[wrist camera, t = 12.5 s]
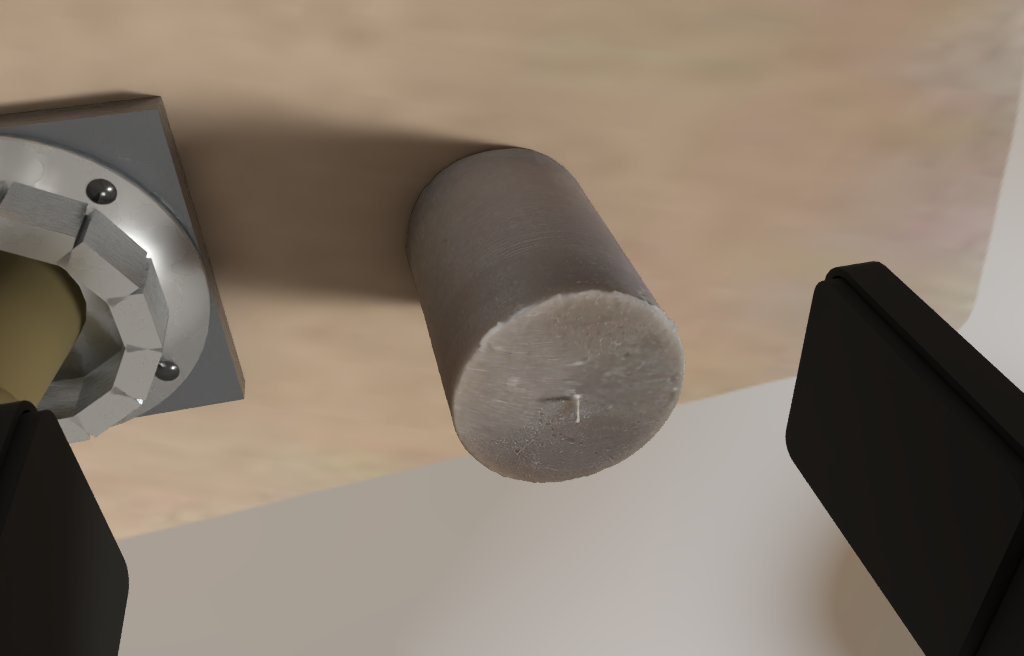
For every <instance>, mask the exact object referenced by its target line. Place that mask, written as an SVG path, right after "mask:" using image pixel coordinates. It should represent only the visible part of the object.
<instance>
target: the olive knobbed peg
mask: <svg viewBox="0 0 1024 656" xmlns="http://www.w3.org/2000/svg"><path fill="white" fill-rule="evenodd" d="M85 322H86V301H85V298H84V296H83V293H82V291H81V288H80V286H79V285H78V284H77V283H76V281H75V280H74V279H73V278H72V277H71V276H70V274H69V273H68V272H67V271H66V270H65V269H63V268H62V267H60V266H58V265H54V264H50V263H47V262H43V261H39V260H36V259H32V258H28V257H24V256H21V255H17V254H13V253H10V252H6V251H2V250H0V404H4V403H10V402H16V401H23V400H26V401H30V402H31V403H32V404H33V405H34V406H35V407H37V406H38V404H39V402H40V401H41V399H42V397H43V396H44V394H45V392H46V391H47V389H48V387H49V385H50V384H51V382H52V380H53V379H54V377H55V375H56V374H57V372H58V370H59V369H60V367H61V365H62V363H63V362H64V360H65V358H66V357H67V355H68V353H69V352H70V350H71V348H72V347H73V345H74V343H75V342H76V340H77V338H78V336H79V335H80V332H81V330H82V328H83V326H84V324H85Z"/></svg>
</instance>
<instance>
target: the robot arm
mask: <svg viewBox="0 0 1024 656" xmlns="http://www.w3.org/2000/svg"><path fill="white" fill-rule="evenodd" d="M785 437H786V445H787V449H788V452H789V454H790V457H791V459H792V460H793V462H794V464H795V465H796V466H797V468H798V469H799V471H800V472H801V474H802V475H803V477H804V478H805V480H806V481H807V483H808V484H809V485H810V487H811V488H812V490H813V491H814V493H815V494H816V496H817V497H818V499H819V500H820V501H821V503H822V504H823V506H824V507H825V509H826V510H827V511H828V513H829V515H830V516H831V518H832V519H833V521H834V522H835V523H836V525H837V526H838V528H839V529H840V531H841V532H842V534H843V535H844V537H845V538H846V540H847V541H848V543H849V544H850V545H851V547H852V548H853V550H854V551H855V553H856V554H857V556H858V557H859V558H860V560H861V562H862V563H863V564H864V566H865V567H866V569H867V570H868V572H869V573H870V574H871V576H872V578H873V579H874V580H875V582H876V583H877V585H878V586H879V587H880V589H881V591H882V592H883V594H884V595H885V597H886V598H887V599H888V601H889V602H890V604H891V605H892V607H893V608H894V610H895V611H896V613H897V614H898V616H899V617H900V619H901V620H902V622H903V623H904V624H905V626H906V627H907V629H908V630H909V632H910V633H911V635H912V636H913V638H914V639H915V640H916V642H917V643H918V645H919V646H920V648H921V649H922V651H923V652H924V654H925V655H926V656H1024V393H1023V392H1022V391H1021V390H1020V389H1019V388H1017V387H1016V386H1015V385H1014V384H1013V383H1012V382H1011V381H1010V380H1009V379H1008V378H1007V377H1005V376H1004V375H1003V374H1002V373H1001V372H1000V371H999V370H998V369H997V368H996V367H994V366H993V365H992V364H991V363H990V362H989V361H988V360H987V359H986V358H985V357H983V355H982V354H980V353H979V352H978V351H977V350H976V349H975V348H974V347H973V346H972V345H971V344H970V343H968V342H967V341H966V340H965V339H964V338H963V337H962V336H961V335H960V334H958V332H957V331H955V330H954V329H953V328H952V327H951V326H950V325H949V324H948V323H947V322H946V321H945V320H943V319H942V318H941V317H940V316H939V315H938V314H937V313H936V312H935V311H934V310H933V309H932V308H930V307H929V306H928V305H927V304H926V303H925V302H924V301H923V300H922V299H921V298H920V297H918V296H917V295H916V294H915V293H914V292H913V291H912V290H911V289H910V288H909V287H908V286H906V285H905V284H904V283H903V282H902V281H901V280H900V279H899V278H898V277H897V276H896V275H895V274H893V273H892V272H891V271H890V270H889V269H888V268H887V267H886V266H885V265H883V264H881V263H880V262H875V261H872V262H866V263H860V264H853V265H847V266H841V267H835V268H833V269H831V270H830V271H829V272H828V274H827V275H826V278H825V281H821V282H819V283H818V284H817V285H816V287H815V290H814V294H813V299H812V304H811V309H810V314H809V319H808V324H807V329H806V334H805V339H804V344H803V349H802V354H801V359H800V364H799V369H798V374H797V379H796V384H795V389H794V394H793V399H792V404H791V409H790V414H789V418H788V423H787V429H786V436H785ZM128 590H129V577H128V570H127V566H126V563H125V560H124V558H123V556H122V553H121V551H120V549H119V547H118V545H117V543H116V541H115V539H114V537H113V535H112V533H111V530H110V528H109V526H108V524H107V522H106V520H105V518H104V516H103V514H102V512H101V510H100V507H99V505H98V503H97V501H96V499H95V497H94V495H93V493H92V491H91V489H90V487H89V485H88V482H87V480H86V478H85V476H84V474H83V472H82V470H81V468H80V466H79V464H78V462H77V460H76V457H75V455H74V453H73V451H72V449H71V447H70V445H69V443H68V441H67V439H66V437H65V435H64V432H63V430H62V428H61V426H60V424H59V422H58V420H57V418H56V416H55V415H54V413H53V412H52V411H50V410H41V411H38V410H37V409H36V407H35V406H34V405H33V404H32V403H31V402H30V401H26V400H23V401H16V402H10V403H4V404H0V656H118V650H119V644H120V639H121V633H122V626H123V621H124V615H125V608H126V603H127V597H128Z"/></svg>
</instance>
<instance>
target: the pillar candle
mask: <svg viewBox="0 0 1024 656" xmlns="http://www.w3.org/2000/svg"><path fill="white" fill-rule="evenodd" d="M406 253H407V257H408V262H409V266H410V269H411V272H412V275H413V278H414V281H415V285H416V289H417V292H418V295H419V298H420V303H421V307H422V310H423V313H424V316H425V320H426V324H427V328H428V332H429V336H430V339H431V343H432V348H433V351H434V354H435V358H436V362H437V365H438V370H439V373H440V376H441V380H442V384H443V387H444V391H445V395H446V399H447V401H448V405H449V408H450V412H451V416H452V420H453V424H454V428H455V431H456V433H457V435H458V437H459V439H460V441H461V443H462V444H463V446H464V447H465V449H466V450H467V451H468V452H469V453H470V454H471V455H472V456H473V457H474V458H475V459H476V460H477V461H479V462H480V463H481V464H483V465H484V466H485V467H487V468H488V469H490V470H491V471H494V472H497V473H498V474H500V475H501V476H503V477H510V478H513V479H518V480H523V481H529V482H534V483H536V482H539V483H545V482H560V481H564V480H571V479H574V478H580V477H583V476H589V475H592V474H595V473H597V472H599V471H601V470H603V469H605V468H608V467H611V466H613V465H615V464H618V463H620V462H621V461H623V460H625V459H626V458H628V457H629V456H631V455H632V454H634V453H635V452H636V451H637V450H639V449H640V448H642V447H643V446H644V445H645V444H646V443H647V442H648V441H649V440H650V439H651V438H653V437H654V436H655V434H656V433H657V432H658V431H659V430H660V428H661V427H662V426H663V424H664V423H665V421H667V419H668V418H669V416H670V414H671V412H672V411H673V409H674V408H675V406H676V404H677V402H678V400H679V395H680V393H681V389H682V384H683V381H684V374H685V373H684V369H685V358H684V352H683V348H682V344H681V341H680V339H679V336H678V334H677V332H678V331H677V326H676V324H675V322H674V321H672V320H671V319H669V318H667V315H666V314H665V313H664V311H663V310H662V309H661V308H660V306H659V305H658V303H657V302H656V300H655V299H654V297H653V296H652V294H651V293H650V291H649V290H648V288H647V287H646V285H645V284H644V282H643V280H642V279H641V277H640V276H639V274H638V273H637V271H636V270H635V268H634V267H633V265H632V264H631V262H630V261H629V259H628V258H627V256H626V255H625V253H624V252H623V250H622V249H621V247H620V246H619V244H618V243H617V241H616V240H615V238H614V236H613V235H612V233H611V232H610V230H609V229H608V228H607V226H606V224H605V223H604V221H603V220H602V218H601V217H600V215H599V214H598V212H597V211H596V209H595V208H594V206H593V205H592V203H591V202H590V200H589V199H588V197H587V196H586V194H585V193H584V191H583V190H582V188H581V187H580V185H579V184H578V182H577V181H576V179H575V178H574V177H573V176H572V175H571V174H570V173H569V172H568V171H567V170H566V169H565V168H564V167H563V166H561V165H560V164H559V163H558V162H556V161H555V160H553V159H552V158H550V157H548V156H546V155H543V154H541V153H539V152H536V151H533V150H529V149H522V148H510V149H499V150H490V151H486V152H482V153H478V154H474V155H470V156H467V157H465V158H462V159H460V160H458V161H456V162H454V163H453V164H451V165H449V166H448V167H447V168H445V169H444V170H442V171H441V172H440V173H438V174H437V175H436V176H435V177H434V179H433V180H432V181H431V182H430V184H429V185H428V186H427V187H425V189H424V190H423V191H422V193H421V195H420V196H419V198H418V200H417V202H416V204H415V206H414V209H413V211H412V215H411V218H410V222H409V228H408V239H407V243H406Z"/></svg>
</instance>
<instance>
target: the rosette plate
mask: <svg viewBox="0 0 1024 656" xmlns="http://www.w3.org/2000/svg"><path fill="white" fill-rule="evenodd" d="M0 250H2V251H6V252H10V253H13V254H17V255H21V256H24V257H28V258H32V259H36V260H39V261H43V262H47V263H50V264H54V265H58V266H60V267H62V268H63V269H65V270H66V271H67V272H68V273H69V274H70V276H71V277H72V278H73V279H74V280H75V281H76V283H77V284H78V285H79V286H80V288H81V291H82V293H83V296H84V298H85V301H86V322H85V324H84V326H83V328H82V330H81V332H80V335H79V336H78V338H77V340H76V342H75V343H74V345H73V347H72V348H71V350H70V352H69V353H68V355H67V357H66V358H65V360H64V362H63V363H62V365H61V367H60V369H59V370H58V372H57V374H56V375H55V377H54V379H53V380H52V382H51V384H50V385H49V387H48V389H47V391H46V392H45V394H44V396H43V397H42V399H41V401H40V402H39V404H38V406H37V407H36V409H37V410H38V411H41V410H50V411H52V412H53V413H54V415H55V416H56V418H57V420H58V422H59V424H60V426H61V428H62V430H63V432H64V435H65V437H66V439H67V441H68V443H74V442H80V441H86V440H89V439H90V435H92V436H94V437H97V436H98V435H100V434H101V433H103V432H104V431H105V430H107V429H108V428H110V427H112V426H115V425H118V424H121V423H124V422H126V421H128V420H130V419H133V418H135V417H141V416H147V415H153V414H159V413H164V412H170V411H176V410H182V409H188V408H194V407H200V406H206V405H212V404H217V403H223V402H229V401H235V400H241V399H244V390H245V380H244V377H243V373H242V370H241V366H240V363H239V360H238V356H237V353H236V349H235V346H234V343H233V339H232V336H231V332H230V329H229V326H228V322H227V319H226V316H225V312H224V309H223V305H222V302H221V299H220V295H219V292H218V288H217V285H216V282H215V278H214V275H213V272H212V268H211V265H210V261H209V258H208V255H207V251H206V248H205V244H204V241H203V238H202V234H201V231H200V227H199V224H198V221H197V217H196V214H195V211H194V207H193V204H192V200H191V197H190V194H189V190H188V187H187V183H186V180H185V177H184V173H183V170H182V166H181V163H180V160H179V156H178V153H177V150H176V146H175V143H174V139H173V136H172V133H171V129H170V126H169V122H168V119H167V116H166V112H165V109H164V105H163V102H162V99H161V97H152V98H143V99H135V100H126V101H118V102H109V103H101V104H92V105H84V106H75V107H66V108H58V109H49V110H41V111H32V112H24V113H15V114H6V115H0Z"/></svg>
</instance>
